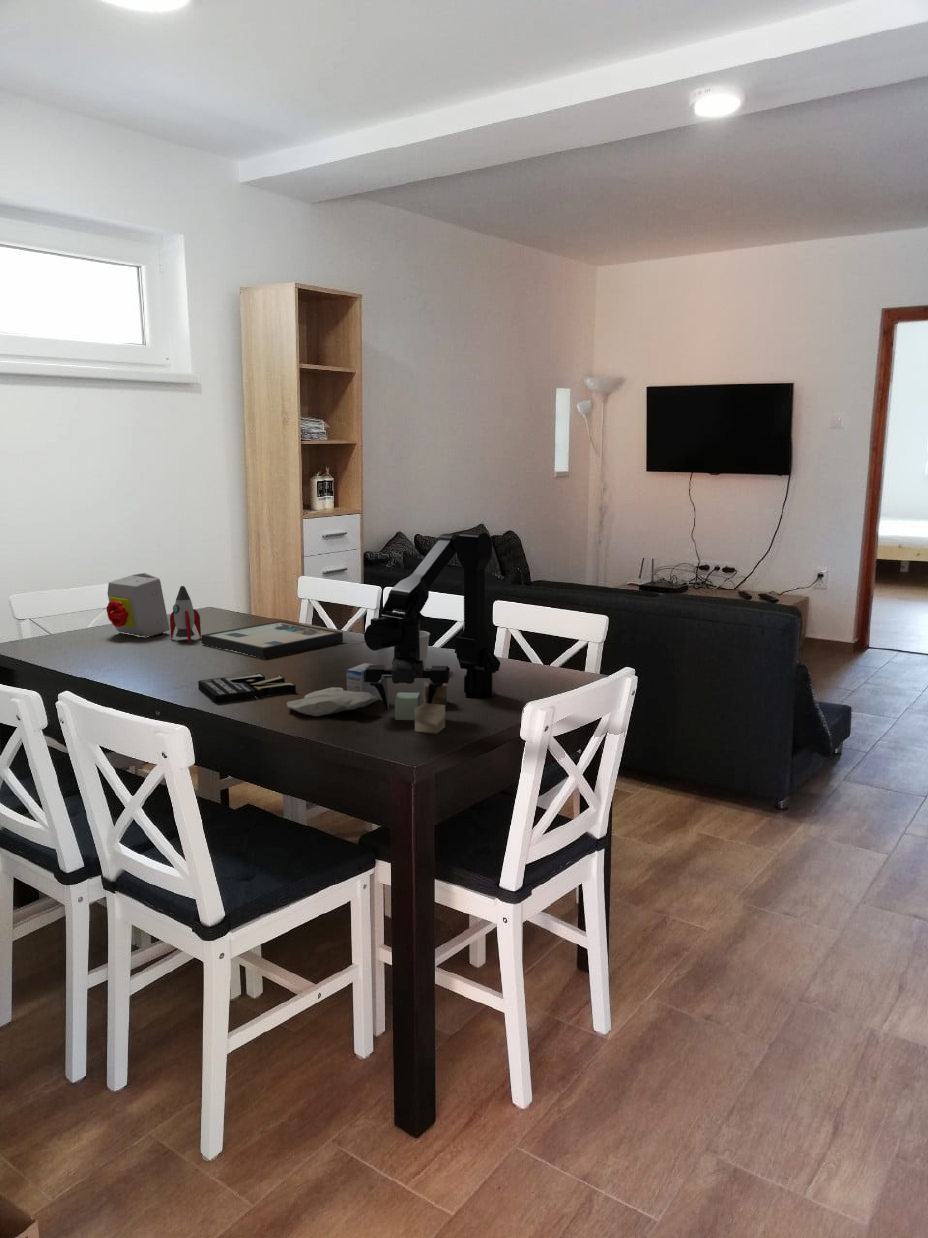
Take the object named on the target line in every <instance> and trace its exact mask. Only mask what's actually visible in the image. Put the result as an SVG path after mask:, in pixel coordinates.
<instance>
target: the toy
mask: <svg viewBox="0 0 928 1238" xmlns="http://www.w3.org/2000/svg"><path fill="white" fill-rule="evenodd" d="M174 603H175V604H173V606H172V612H171V614H170V616H169V630H170V639H171V638H172V639H173V637H174V632H175V630H176V629H177V631H176V634H175V637H176V638H187V640H188V641H187V642H188V644H189V643H190V642H191V643H192V637H194V636H195V635H196V634H195V633H194V630H193V627H194V626H195V628H196V631H197V633H198V635H199V638H200V637H201V638H202V636H201V635H202V628H201V616H200V613H199V611H197V610H196V609H194V605H193V601H192V599H191V597H190V595H189V592H188V591H187V589H186V587H185V585H181V586H180V587H179V590H178V593H177V596H176V598H175V602H174Z"/></svg>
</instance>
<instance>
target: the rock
mask: <svg viewBox="0 0 928 1238" xmlns="http://www.w3.org/2000/svg"><path fill="white" fill-rule="evenodd" d="M375 699H376V697H375V696H373V695H371V694H369V693H367V692H352V691H347V690H345V689H344V688H343V687H328V688H324V689H321V690H320V689H319V690H315V691H312V692H309V693H308V694H305V695H304V697H303V698H301V699H295V700H291V701H290V700H289V701H287V702H286V707H287V709H288V710H291V711H292V710H293V711H295V712H297V713H300V714H303V715H307V716H312V717H320V716H321V717H322V716H324V715H331V714H332V715H333V713H335V714H338V713H340V712H345V711H353V710H356V709H358V708H362V707H361V706H363V705H366V704H368V703H370V702H372V701H374V700H375ZM374 702H375V701H374ZM372 703H373V702H372ZM370 704H371V703H370ZM368 705H369V704H368ZM366 706H367V705H366Z"/></svg>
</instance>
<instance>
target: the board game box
mask: <svg viewBox="0 0 928 1238" xmlns="http://www.w3.org/2000/svg"><path fill="white" fill-rule="evenodd" d="M343 633H344V632H341V631H338V630H336V631H335V630H330V629H325V628H321V627H316V626H315V627H314V626H310V625H304V624H299V623H293V622H288V621H282V620H279V621H278V620H277V621H274V622H266V623H261V624H255V625H251V626H244V627H238V628H233V629H229V630H222V631H217V632H211V633H206V634H205V633H204V634H201V645H202V644H204V645H208V646H213V647H217V648H221V649H228V650H233V651H237V652H241V653H245V654H248V655H253V656H256V657H260V658H268V659H270V658H269V657H273V656H277V657H279V656H278V655H282V656H284V655H283V654H287V655H289V654H288V653H292V654H294V653H293V652H296V653H300V651H301V652H305V650H306V651H309V649H310V650H313V649H319V648H320V649H321V648H323V647H329V646H334V645H338V643H339V644H342V643H344V634H343ZM221 649H220V650H221ZM260 658H259V659H260ZM273 658H274V657H273Z"/></svg>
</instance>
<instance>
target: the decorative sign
mask: <svg viewBox="0 0 928 1238" xmlns="http://www.w3.org/2000/svg"><path fill="white" fill-rule="evenodd" d="M197 683H198V684H197V685H198V691H200V693H202V694H203V695H205V697H207V698H208V699H209V700H210V701H212V703H214V704H215V705H221V704H228V703H234V702H241V701H242V702H243V701H251V700H254V699H255V700H256V698H257V699H262V698H263V696H264V697H270V696H269V695H271V696H277V694H278V695H285V694H284V693H286V694H292V693H295V694H297V685H296V684H295V683H294V682H293V681H292V682H291V681H290V682H288V681H287V682H286V680H285V677H284V676H282V675H281V674H278V675H276V676H274V677H271V678H270V677H269V678H267V679H266V676H265V675H263V673H260V672H259V673H256V674H251V675H243V676H242V675H241V676H234V677H225V676H224V677H219V678H218V677H217V678H210V679H202V680H198V681H197ZM255 696H256V697H255ZM250 699H251V700H250Z"/></svg>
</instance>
